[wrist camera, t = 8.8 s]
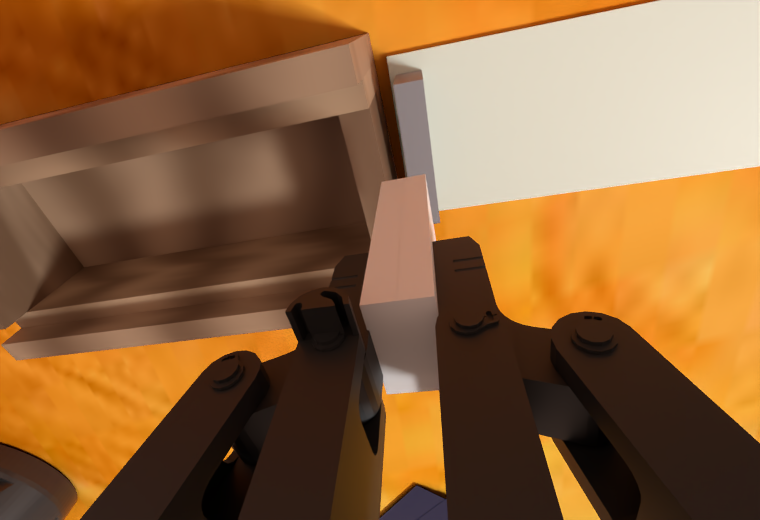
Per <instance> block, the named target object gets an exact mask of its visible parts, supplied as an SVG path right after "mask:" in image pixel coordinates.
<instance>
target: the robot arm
mask: <svg viewBox="0 0 760 520" xmlns="http://www.w3.org/2000/svg"><path fill="white" fill-rule="evenodd" d="M331 279H332V281H331V282H330V285H329V287H323V288H319V289H315V290H311V291H309V292H307V293H305V294H303V295H301V296H299V297H298V298H297V299H295V300H294V301H293V302H292V303H291V304H290V305H289V307H288V308H287V309H286V311H285V313H286V316H287V318H288V320H289V322H290V324H291V327H292V329H293V331H294V333H295V336H296V338H297V340H298V344H297V347H296V350H294V351H292V352H290V353H287V354H285V355H282V356H280V357H277V358H274V359H271V360H268V361H266V362H263V363H261V361H260V359H259V358H258V356H257V355H256V354H255V353H253V352H250V351H236V352H233V353H230V354H227V355H224V356H222V357H221V358H219V359H218V360H216V361H214V362H213V363H212V364H210V365H209V366H208V367H207V368H206V369H205V370H204V371H203V372H202V373H201V375H200V376H199V377H198V378H197V379H196V381H195V382H194V383H193V384H192V385H191V387H190V388H189V389H188V390H187V391H186V393H185V394H184V395H183V396H182V397H181V399H180V400H179V401H178V402H177V403H176V405H175V406H174V407H173V408H172V409H171V411H170V412H169V413H168V414H167V415H166V417H165V418H164V419H163V420H162V421H161V423H160V424H159V425H158V426H157V427H156V429H155V430H154V431H153V432H152V433H151V435H150V436H149V437H148V438H147V439H146V441H145V442H144V443H143V444H142V445H141V447H140V448H139V449H138V450H137V451H136V453H135V454H134V455H133V456H132V458H131V459H130V460H129V461H128V462H127V464H126V465H125V466H124V467H123V468H122V470H121V471H120V472H119V473H118V474H117V476H116V477H115V478H114V479H113V480H112V482H111V483H110V484H109V485H108V486H107V488H106V489H105V490H104V491H103V492H102V494H101V495H100V496H99V497H98V498H97V500H96V501H95V502H94V503H93V504H92V506H91V507H90V508H89V509H88V510H87V512H86V513H85V514H84V515H83V516H82V518H81V519H80V520H379V518H380V502H381V486H382V471H383V455H384V439H385V423H386V413H385V407H384V404H383V401H382V386H383V383H384V386H385V389H386V392H387V394H396V393H409V392H421V391H433V390H439V392H440V407H441V422H442V437H443V452H444V467H445V482H446V497H447V512H448V520H563V516H562V513H561V509H560V506H559V502H558V499H557V496H556V492H555V489H554V485H553V482H552V479H551V475H550V472H549V468H548V465H547V461H546V458H545V455H544V451H543V448H542V444H541V441H540V438H539V434H540V435H544V436H548V437H552V440H553V442H554V443H555V445H556V447H557V448H558V450H559V451H560V453H561V455H562V456H563V458H564V460H565V461H566V463H567V465H568V466H569V468H570V470H571V471H572V473H573V475H574V476H575V478H576V480H577V481H578V483H579V484H580V486H581V488H582V489H583V491H584V493H585V494H586V496H587V498H588V499H589V501H590V503H591V504H592V506H593V508H594V509H595V511H596V513H597V514H598V516H599V517H600V519H601V520H760V443H759V442H758V441H756V440H755V439H754V438H753V437H752V436H751V435H750V434H749V433H748V432H747V431H745V430H744V429H743V428H742V427H741V426H740V425H739V424H738V423H737V422H735V421H734V420H733V419H732V418H731V417H730V416H729V415H728V414H727V413H725V412H724V411H723V410H722V409H721V408H720V407H719V406H718V405H717V404H715V403H714V402H713V401H712V400H711V399H710V398H709V397H708V396H707V395H705V394H704V393H703V392H702V391H701V390H700V389H699V388H698V387H697V386H695V385H694V384H693V383H692V382H691V381H690V380H689V379H688V378H687V377H685V376H684V375H683V374H682V373H681V372H680V371H679V370H678V369H677V368H675V367H674V366H673V365H672V364H671V363H670V362H669V361H668V360H667V359H666V358H664V357H663V356H662V355H661V354H660V353H659V352H658V351H657V350H656V349H654V348H653V347H652V346H651V345H650V344H649V343H648V342H647V341H646V340H644V339H643V338H642V337H641V336H640V335H639V334H638V333H637V332H636V331H634V330H633V329H632V328H631V327H630V326H628V325H627V324H625V323H624V322H622V321H621V320H619V319H617V318H615V317H612V316H609V315H606V314H603V313H595V312H578V313H571V314H569V315H566V316H564V317H562V318H560V319H559V320H558V321H557V322H556V323H555V324H554V325H553V327H552V329H546V328H538V327H531V326H526V325H522V324H519V323H517V322H514V321H512V320H510V319H509V318H507V317H506V316H504V315H503V314H502V313H501V312H500V310H499V309H498V307H497V305H496V302H495V299H494V295H493V291H492V288H491V284H490V281H489V277H488V274H487V270H486V268H485V263H484V260H483V256H482V252H481V249H480V245H479V244H478V243H476V242H475V241H474V240H473V239H472V238H470V237H469V236H467V237H460V238H453V239H447V240H440V241H436V238H435V231H434V225H433V219H432V213H431V206H430V200H429V194H428V188H427V181H426V175H425V174H423V175H417V176H412V177H406V178H401V179H395V180H390V181H384V182H382V183H381V188H380V194H379V199H378V205H377V210H376V216H375V222H374V227H373V233H372V238H371V244H370V249H369V252H368V253H361V254H354V255H348V256H344V257H343V259H342V260H341V261H340V262H339V263H338V264H337V265H336V266H335V269H334V272H333V275H332V278H331ZM231 447H232V448H233V449H234V450H233V452H232V454H231V455H230V456H229V457H228V458H227V459H226V460H224V461H223V459H224V458H225V456H226V455H227V453H228V451H229V450H230V448H231ZM76 501H77V492H76V490H75V488H74V486H73V485H72V484H71V483H70V481H69V480H68V479H67V478H66V477H64V476H63V475H62V474H61V473H60V472H58V471H57V470H55V469H54V468H52V467H51V466H49V465H48V464H46V463H44V462H42V461H41V460H39V459H37V458H35V457H33V456H31V455H28V454H26V453H24V452H21V451H19V450H16V449H13V448H10V447H7V446H4V445H1V444H0V520H64V519H65V518H66V516H67V515H68V513H69V512H70V510H71V509H72V507H73V506H74V504H75V503H76Z"/></svg>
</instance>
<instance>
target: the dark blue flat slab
mask: <svg viewBox="0 0 760 520" xmlns="http://www.w3.org/2000/svg"><path fill="white" fill-rule="evenodd" d="M379 520H448V512H447V499H444V498H442V497H440V496H438V495H436V494H434V493H432V492H429V491H427V490H425V489H423V488H421V487H419V486H417V485H416V486H415V487H414V488H413V489H412V490H411V491H410V492H409V493H407V494H406V495H405V496H404V497H403V498H402V499H401V500H400V501H399V502H397V503H396V504H395V505H394V506H393V507H392V508H391V509H390V510H388V511H387V512H386V513H385V514H384V515H383V516H382V517H381V518H379Z"/></svg>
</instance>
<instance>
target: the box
mask: <svg viewBox="0 0 760 520" xmlns="http://www.w3.org/2000/svg"><path fill="white" fill-rule="evenodd" d="M395 179H398V178H397V173H396V168H395V163H394V158H393V153H392V148H391V143H390V138H389V133H388V128H387V123H386V118H385V113H384V108H383V103H382V98H381V93H380V88H379V83H378V78H377V73H376V68H375V63H374V58H373V53H372V48H371V43H370V38H369V33H366V34H362V35H358V36H354V37H350V38H346V39H342V40H338V41H334V42H330V43H326V44H322V45H318V46H314V47H310V48H306V49H302V50H298V51H294V52H290V53H286V54H282V55H278V56H274V57H270V58H266V59H262V60H258V61H254V62H250V63H246V64H242V65H238V66H234V67H230V68H226V69H222V70H218V71H214V72H210V73H206V74H202V75H198V76H194V77H190V78H186V79H182V80H178V81H174V82H170V83H166V84H162V85H158V86H154V87H150V88H146V89H142V90H138V91H133V92H129V93H125V94H121V95H117V96H113V97H109V98H105V99H101V100H97V101H93V102H89V103H85V104H81V105H77V106H73V107H69V108H65V109H61V110H57V111H53V112H49V113H45V114H41V115H37V116H33V117H29V118H25V119H21V120H17V121H13V122H9V123H5V124H1V125H0V329H6V328H7V327H9V326H10V325H11V324H13V323H14V322H16V323H17V324H18V325H19V326H20V327H21V329H20V330H19V331H18V332H16V333H15V334H14V335H13V336H11V337H10V338H9V339H8V340H6V341H5V342H4V343H3V344H2V346H3V347H4V348H5V349H6V350H7V351H8V352H9V353H10V354H11V355H12V356H13V357H14V358H15V359H16V360H24V359H33V358H41V357H50V356H58V355H67V354H75V353H84V352H92V351H101V350H109V349H118V348H127V347H135V346H144V345H152V344H161V343H169V342H178V341H186V340H195V339H203V338H212V337H220V336H229V335H237V334H246V333H254V332H263V331H271V330H280V329H288V328H292V327H291V324H290V322H289V320H288V318H287V316H286V313H285V311H286V309H287V308H288V307H289V305H290V304H291V303H292V302H293V301H294V300H295V299H297V298H298V297H299V296H301V295H303V294H305V293H307V292H309V291H311V290H315V289H319V288H323V287H329V285H330V282H331V281H332V279H331V278H332V275H333V272H334V269H335V266H336V265H337V264H338V263H339V262H340V261H341V260H342V259H343V257H344V256H348V255H354V254H361V253H368V252H369V249H370V244H371V238H372V233H373V227H374V222H375V216H376V210H377V205H378V199H379V194H380V188H381V183H382V182H384V181H390V180H395Z"/></svg>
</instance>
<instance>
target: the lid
mask: <svg viewBox="0 0 760 520" xmlns="http://www.w3.org/2000/svg"><path fill="white" fill-rule="evenodd" d="M386 58H387V64H388V70H389V76H390V83H391V89H392V95H393V101H394V108H395V114H396V120H397V126H398V133H399V139H400V145H401V151H402V158H403V164H404V170H405V176H406V177H412V176H417V175H423V174H425V175H426V181H427V188H428V194H429V200H430V206H431V213H432V219H433V224H435V223H440V217H439V211H441V210H448V209H455V208H462V207H469V206H477V205H484V204H491V203H498V202H505V201H513V200H520V199H527V198H534V197H541V196H548V195H556V194H563V193H570V192H577V191H584V190H592V189H599V188H606V187H613V186H620V185H628V184H635V183H642V182H649V181H656V180H663V179H671V178H678V177H685V176H692V175H699V174H707V173H714V172H721V171H728V170H735V169H743V168H750V167H757V166H760V0H657V1H652V2H647V3H643V4H638V5H633V6H628V7H623V8H618V9H614V10H609V11H604V12H599V13H594V14H589V15H585V16H580V17H575V18H570V19H565V20H560V21H556V22H551V23H546V24H541V25H536V26H531V27H527V28H522V29H517V30H512V31H507V32H502V33H497V34H493V35H488V36H483V37H478V38H473V39H468V40H464V41H459V42H454V43H449V44H444V45H439V46H435V47H430V48H425V49H420V50H415V51H410V52H406V53H401V54H396V55H391V56H387V57H386Z"/></svg>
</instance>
